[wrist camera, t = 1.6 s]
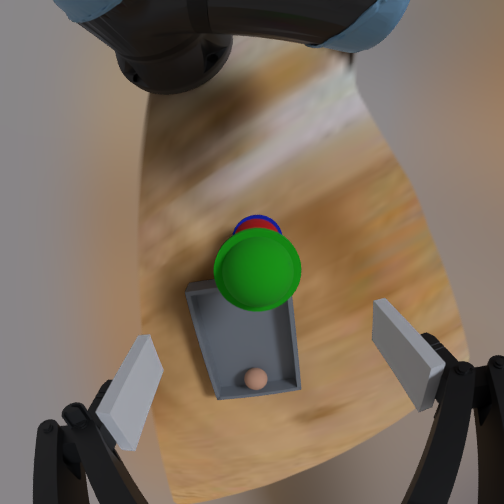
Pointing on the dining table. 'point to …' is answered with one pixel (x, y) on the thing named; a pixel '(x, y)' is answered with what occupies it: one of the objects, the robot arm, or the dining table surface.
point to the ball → (255, 378)
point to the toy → (257, 266)
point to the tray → (244, 343)
